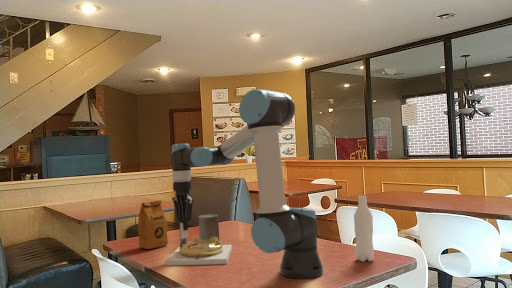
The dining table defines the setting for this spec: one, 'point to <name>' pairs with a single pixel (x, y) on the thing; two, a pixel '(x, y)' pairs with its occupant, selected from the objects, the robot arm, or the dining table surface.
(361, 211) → the water bottle
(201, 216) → the pillar candle
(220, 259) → the mount plate
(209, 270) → the dining table surface
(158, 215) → the coffee package
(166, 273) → the dining table surface
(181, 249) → the gold round notched piece
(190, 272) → the dining table surface
